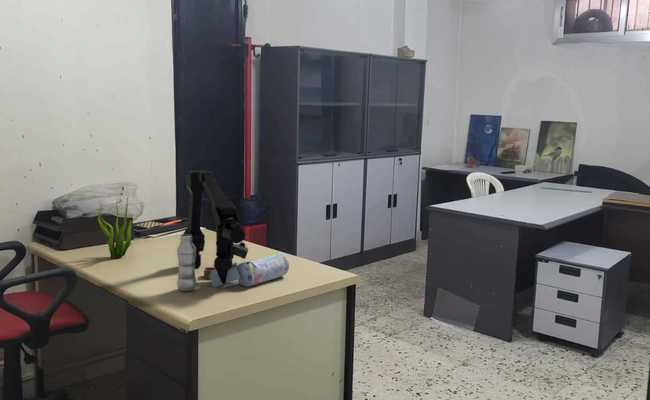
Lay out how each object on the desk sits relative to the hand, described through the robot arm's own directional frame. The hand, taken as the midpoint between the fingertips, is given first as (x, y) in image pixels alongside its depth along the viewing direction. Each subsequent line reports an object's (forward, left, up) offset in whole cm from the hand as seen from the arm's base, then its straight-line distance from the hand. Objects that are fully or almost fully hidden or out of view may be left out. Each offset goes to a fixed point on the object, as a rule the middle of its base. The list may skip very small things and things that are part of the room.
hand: (224, 279), depth 220 cm
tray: (0, +11, -2) cm, 11 cm away
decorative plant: (-45, +41, -2) cm, 61 cm away
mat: (0, 0, -2) cm, 2 cm away
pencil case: (+14, +4, -2) cm, 14 cm away
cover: (+1, 0, 0) cm, 1 cm away
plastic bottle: (-13, -6, -2) cm, 14 cm away
